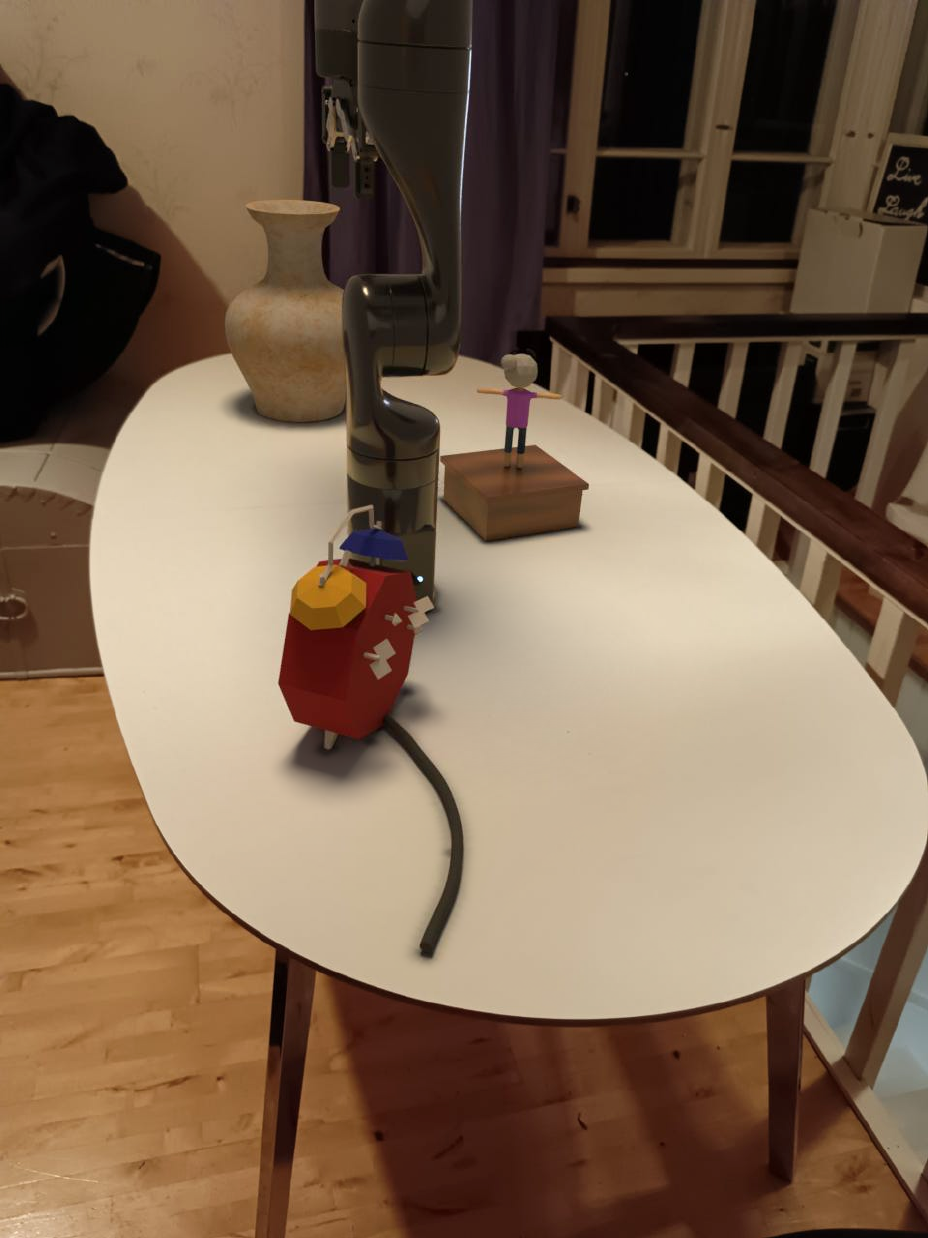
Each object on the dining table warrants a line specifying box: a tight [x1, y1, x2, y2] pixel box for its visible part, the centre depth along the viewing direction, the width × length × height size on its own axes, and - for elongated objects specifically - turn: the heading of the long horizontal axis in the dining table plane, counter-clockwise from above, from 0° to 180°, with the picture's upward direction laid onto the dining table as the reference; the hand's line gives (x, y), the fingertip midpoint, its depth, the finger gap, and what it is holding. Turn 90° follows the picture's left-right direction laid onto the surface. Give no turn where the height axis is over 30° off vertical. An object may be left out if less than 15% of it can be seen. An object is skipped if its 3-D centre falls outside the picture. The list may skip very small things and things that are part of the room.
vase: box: [224, 199, 346, 423], centre depth 146 cm, size 22×22×30 cm
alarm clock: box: [277, 505, 435, 750], centre depth 79 cm, size 15×9×20 cm, turn 160°
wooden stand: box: [439, 444, 590, 542], centre depth 122 cm, size 14×14×6 cm
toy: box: [476, 347, 563, 468], centre depth 116 cm, size 10×6×15 cm, turn 84°
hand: (351, 192), depth 110 cm, fingers open, 8 cm apart
